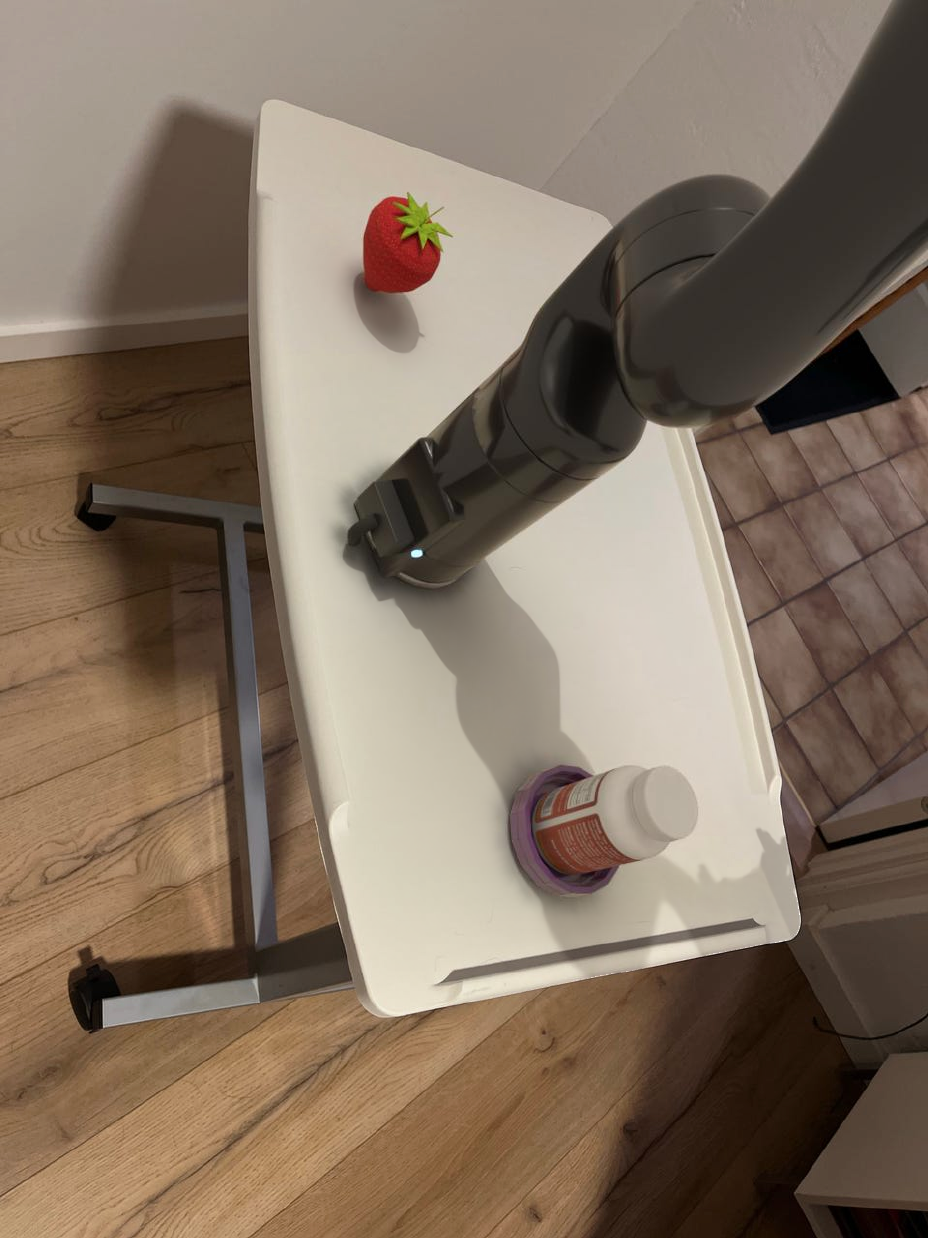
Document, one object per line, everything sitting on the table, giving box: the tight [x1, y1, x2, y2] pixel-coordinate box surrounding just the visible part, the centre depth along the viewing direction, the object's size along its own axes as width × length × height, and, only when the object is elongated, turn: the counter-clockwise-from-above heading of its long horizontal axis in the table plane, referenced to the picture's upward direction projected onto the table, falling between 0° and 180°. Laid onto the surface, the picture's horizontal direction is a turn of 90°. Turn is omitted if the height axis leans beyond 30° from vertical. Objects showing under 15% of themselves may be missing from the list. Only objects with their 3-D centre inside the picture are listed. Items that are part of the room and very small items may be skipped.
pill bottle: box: [532, 764, 699, 875], centre depth 61 cm, size 6×6×11 cm
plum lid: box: [509, 764, 621, 898], centre depth 65 cm, size 9×9×2 cm
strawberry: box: [362, 191, 454, 294], centre depth 71 cm, size 6×8×10 cm
